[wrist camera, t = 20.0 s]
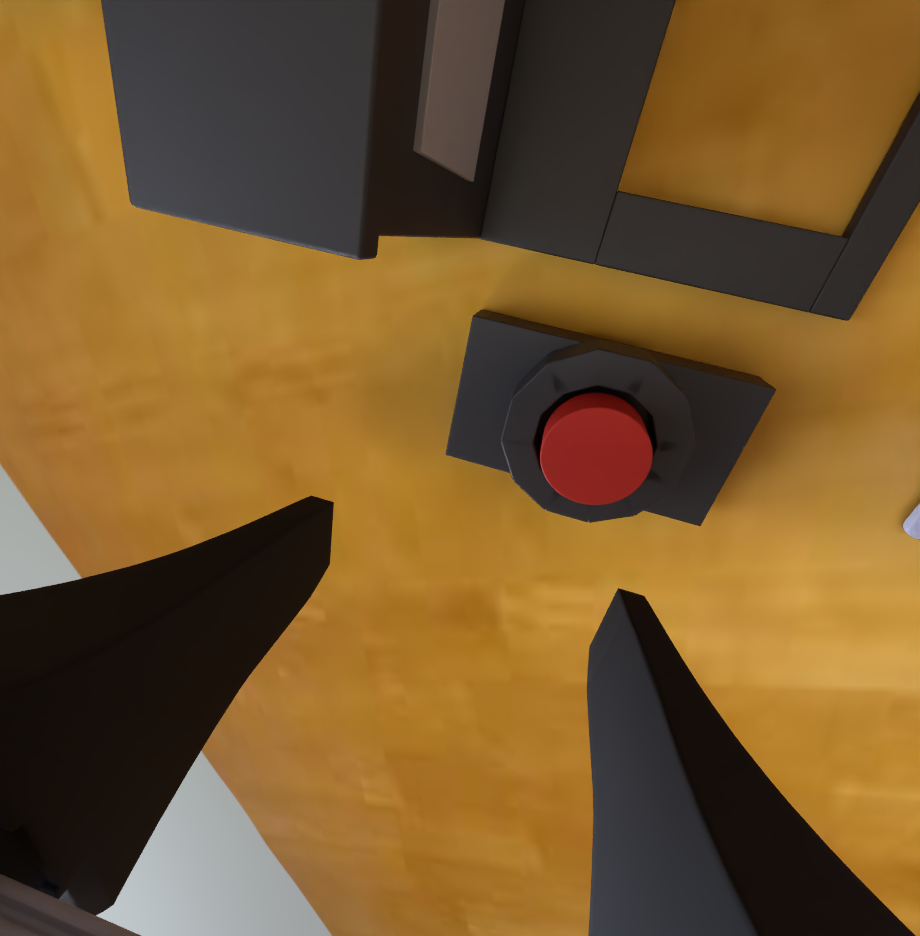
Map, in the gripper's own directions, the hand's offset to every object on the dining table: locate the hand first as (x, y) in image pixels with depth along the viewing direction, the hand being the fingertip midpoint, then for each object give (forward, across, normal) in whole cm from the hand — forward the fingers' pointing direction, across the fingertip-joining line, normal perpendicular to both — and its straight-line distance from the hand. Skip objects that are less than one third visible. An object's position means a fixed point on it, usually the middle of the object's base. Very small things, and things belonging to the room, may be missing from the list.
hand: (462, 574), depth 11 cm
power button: (+7, -3, -1) cm, 8 cm away
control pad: (+10, -3, -2) cm, 11 cm away
